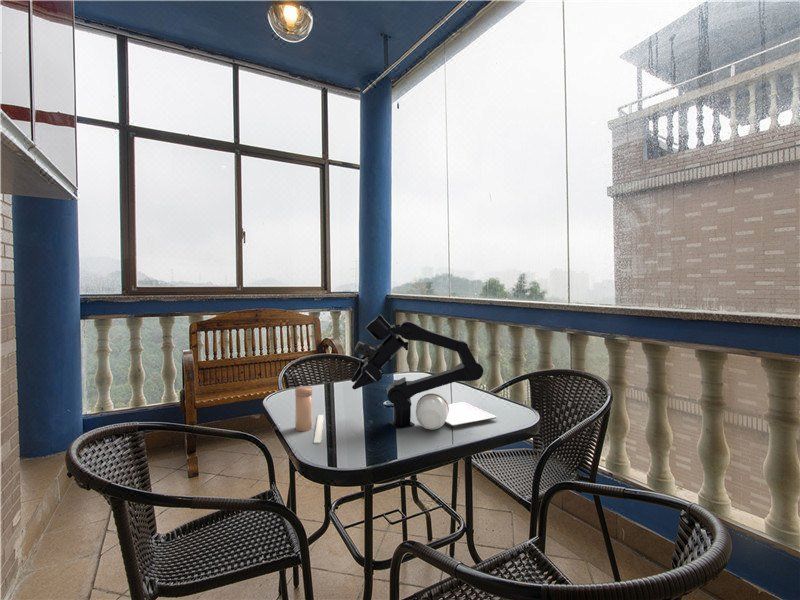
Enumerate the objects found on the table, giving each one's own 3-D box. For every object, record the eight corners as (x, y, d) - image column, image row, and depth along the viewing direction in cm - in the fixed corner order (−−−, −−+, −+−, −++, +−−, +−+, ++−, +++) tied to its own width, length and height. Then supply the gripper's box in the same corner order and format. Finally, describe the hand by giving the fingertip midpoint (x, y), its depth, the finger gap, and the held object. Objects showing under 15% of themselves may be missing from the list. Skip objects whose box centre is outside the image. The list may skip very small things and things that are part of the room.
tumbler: (313, 430, 125) (313, 389, 124) (297, 432, 122) (297, 391, 122) (309, 424, 129) (309, 385, 129) (293, 427, 127) (293, 387, 127)
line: (320, 443, 115) (320, 441, 115) (313, 443, 114) (313, 442, 114) (323, 415, 138) (323, 414, 138) (318, 416, 138) (318, 414, 138)
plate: (452, 431, 126) (452, 424, 126) (422, 413, 143) (422, 408, 142) (497, 422, 135) (497, 416, 135) (463, 406, 151) (463, 401, 151)
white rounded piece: (438, 397, 121) (440, 386, 130) (407, 410, 123) (411, 398, 133) (453, 428, 122) (454, 414, 131) (422, 440, 124) (425, 426, 133)
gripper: (367, 329, 137) (334, 361, 136) (371, 337, 119) (334, 374, 118) (389, 352, 139) (357, 384, 138) (397, 362, 120) (360, 399, 119)
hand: (352, 384), depth 128 cm, fingers open, 9 cm apart
